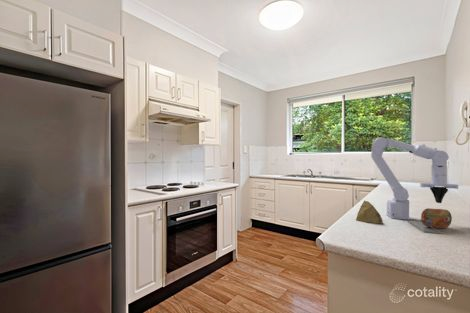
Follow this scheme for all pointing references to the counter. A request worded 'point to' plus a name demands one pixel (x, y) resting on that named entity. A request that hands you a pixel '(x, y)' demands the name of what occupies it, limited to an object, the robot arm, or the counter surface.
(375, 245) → the counter surface
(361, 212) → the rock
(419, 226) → the gray sheet
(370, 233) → the counter surface
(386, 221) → the counter surface
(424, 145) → the robot arm
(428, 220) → the tin
